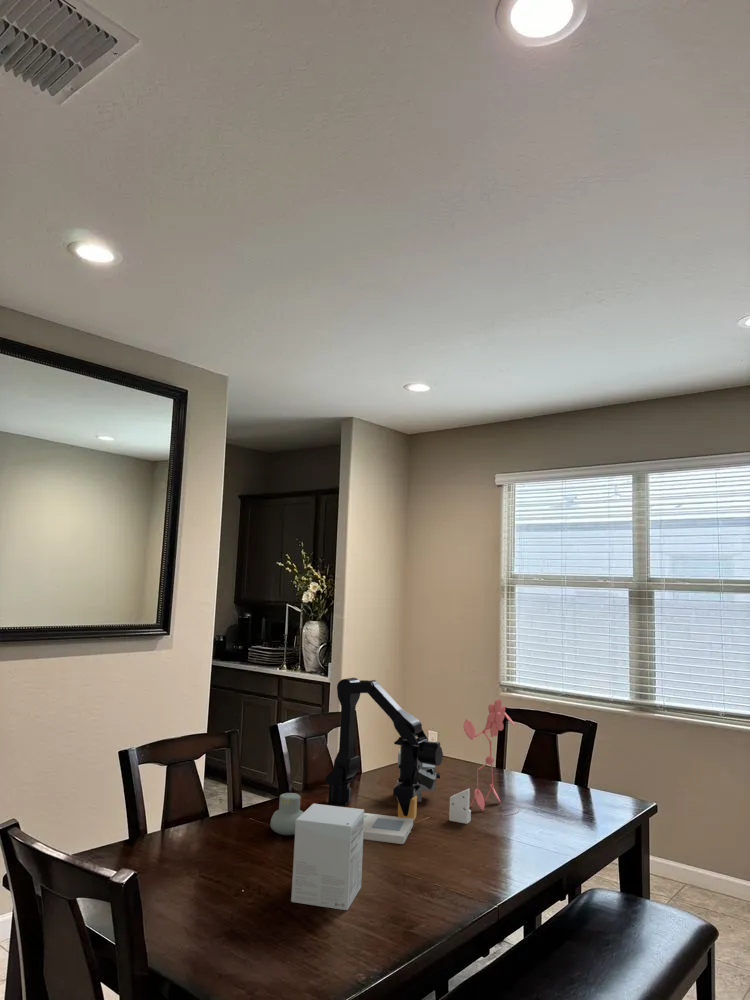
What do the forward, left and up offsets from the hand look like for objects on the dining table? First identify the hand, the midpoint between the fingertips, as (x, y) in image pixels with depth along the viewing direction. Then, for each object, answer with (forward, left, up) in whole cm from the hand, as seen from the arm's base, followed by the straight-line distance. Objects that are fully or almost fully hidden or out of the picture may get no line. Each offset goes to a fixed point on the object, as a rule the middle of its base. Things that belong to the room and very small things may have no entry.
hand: (407, 813), depth 212 cm
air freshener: (-30, -25, -2) cm, 39 cm away
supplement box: (-8, -60, -2) cm, 61 cm away
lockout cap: (0, 0, -1) cm, 1 cm away
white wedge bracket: (+16, +3, -2) cm, 16 cm away
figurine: (+26, +19, -2) cm, 32 cm away
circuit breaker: (0, +21, -2) cm, 21 cm away
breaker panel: (-7, -15, -1) cm, 17 cm away
